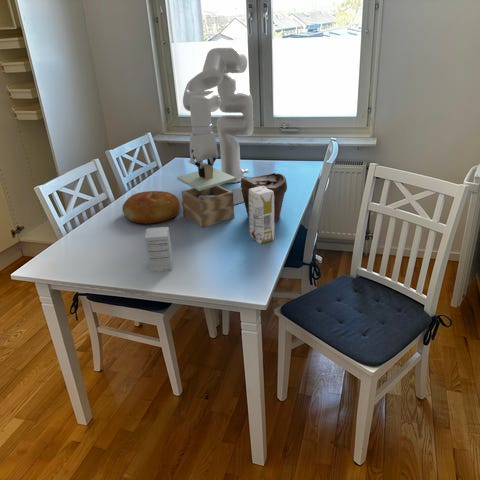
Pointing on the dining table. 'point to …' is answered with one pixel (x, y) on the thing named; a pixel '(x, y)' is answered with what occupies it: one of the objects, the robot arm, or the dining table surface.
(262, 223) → the juice carton
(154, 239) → the supplement box
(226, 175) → the lid
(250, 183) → the brown plant pot
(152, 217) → the bread
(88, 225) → the dining table surface
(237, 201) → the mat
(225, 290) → the dining table surface
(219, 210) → the crate
